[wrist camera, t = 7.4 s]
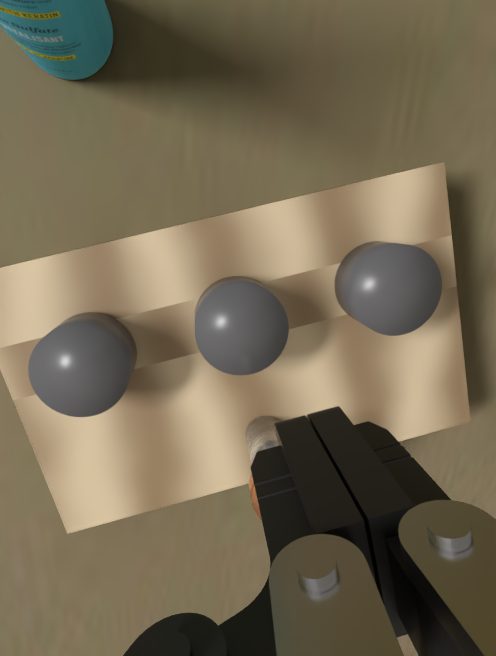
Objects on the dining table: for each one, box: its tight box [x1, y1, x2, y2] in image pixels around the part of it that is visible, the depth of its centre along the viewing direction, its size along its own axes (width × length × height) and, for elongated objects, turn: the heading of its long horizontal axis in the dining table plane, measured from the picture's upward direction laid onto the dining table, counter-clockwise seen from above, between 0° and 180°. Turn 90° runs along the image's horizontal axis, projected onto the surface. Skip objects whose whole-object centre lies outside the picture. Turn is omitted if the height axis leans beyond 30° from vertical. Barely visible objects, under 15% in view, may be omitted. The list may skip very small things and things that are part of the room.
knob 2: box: [335, 241, 442, 336], centre depth 25 cm, size 5×5×7 cm
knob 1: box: [28, 312, 137, 417], centre depth 24 cm, size 5×5×7 cm
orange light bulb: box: [245, 416, 280, 520], centre depth 23 cm, size 3×3×6 cm
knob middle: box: [195, 276, 289, 375], centre depth 24 cm, size 5×5×7 cm
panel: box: [0, 162, 471, 533], centre depth 27 cm, size 26×16×4 cm, turn 103°
